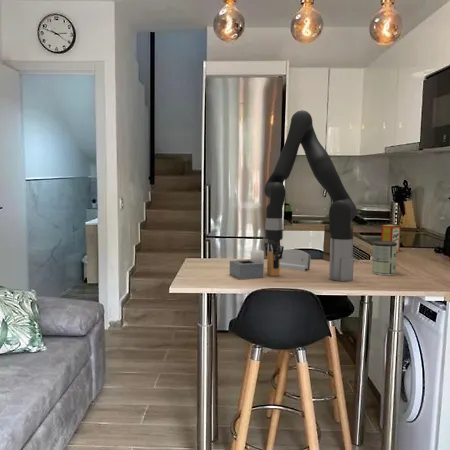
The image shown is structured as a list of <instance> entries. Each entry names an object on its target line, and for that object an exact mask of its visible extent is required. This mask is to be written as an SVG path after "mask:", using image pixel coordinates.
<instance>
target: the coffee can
mask: <svg viewBox="0 0 450 450" xmlns="http://www.w3.org/2000/svg"><path fill="white" fill-rule="evenodd" d="M396 248H397V243H396V242H391V241H381V240H375V241H372V259H371V260H372V261H371V262H372V264H371V265H372V267H371V268H372V269H371V273H372V274H373V273H374V274H373V275H377V274H378V275H379V276H395V275H397V274H396V273H397V271H396V270H397V252H396Z"/></svg>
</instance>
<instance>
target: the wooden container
mask: <svg viewBox="0 0 450 450" xmlns="http://www.w3.org/2000/svg"><path fill="white" fill-rule="evenodd" d="M323 229H324V230H323V231H324V232H323V244H322V245H323V246H322V247H323V249H322V259H323V260H324V261H327V262H330V240H331V234H330V231H329V223H328V224H324V228H323ZM351 230H352V232H353V233H354V225H352V224H351Z"/></svg>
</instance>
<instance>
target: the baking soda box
mask: <svg viewBox="0 0 450 450" xmlns="http://www.w3.org/2000/svg"><path fill="white" fill-rule="evenodd" d="M380 241H391V242H396V243H397V248H396V251H400V252H401V250H400V249H401V248H400V247H401V225H399V224H382V225H381V238H380Z"/></svg>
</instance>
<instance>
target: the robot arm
mask: <svg viewBox="0 0 450 450" xmlns="http://www.w3.org/2000/svg"><path fill="white" fill-rule="evenodd" d="M287 133H288V134H287V135H286V136H287V137H286V139H285V142H284V145H283V147H282V150H281V153H280V155H279V156H278V160H277V162H276V164H275V166H274V169H273V172H272V173H271V174H270V176H269V178H268V179H267V181H266V184H265V185H264V190H263V192H264V194H265V197H267V198H269V204H268V205H266V209H265V214H266V215H265V226H264V227H265V228H264V231H265V232H264V234H265V237H264V239H265V240H267V242H264V250H265V251H264V254H265V257H267V252H272V254H273V259H274V260H273V268H274V269H278V268H279V260H280V259H282V254H283V250H285V248H284V245H281V242H280V241H281V240H283V238H284V228H283V227H284V220H283V213H284V211H283V206H284V204H285V200H286V196H287V195H286V193H287V192H286V187H285V185H284V184H283V183H284V181H286V180H287V179H289V177H290V174H291V173H292V171H293V168H294V165H295V162H296V159H297V155H298V151H299V148H300V145H301V147H302V149H303V151H304V154H305V158H306V160H307V163H308V164H309V167H310V169H311V171H312V174H313V176H314V178H315V179H316V180H317V182H318V183H319V185H321V187H322V188H323V189H324V190H325V191H326V193H327V194H328V195H329V198H330V199H331V201H332V204H331V205H330V207H329V212H328V224H329V231H330V234H331V240H330V261H329V279H330V280H332V281H339V282H348V281H349V282H350V281H354V265H355V264H354V261H355V259H354V256H353V255H354V253H353V250H354V231H353V232H352V230H351V225H352V223H351V221H353V220H354V219H355V217H356V215H357V207H356V204H355V202H354V201H353V200H352V198H351V196H350V194H349V193H348V192H347V189H346V188H345V187H344V185H343V182H342V180H341V178H340V176H339V174H338V171H337V169H336V166H335V165H334V162H333V160H332V158H331V156H330V155H329V152H327V151H326V149H325V148H324V146H323V145H322V144H321V142H320V141H319V139H318V136H317V134H316V132H315V129H314V124H313V117H312V115H311V113H310V112H308V111H307V110H304V109H302V110H301V109H300V110H298V111H296V112H294V113H293V115H292V116H291V119H290V124H289V129H288V131H287ZM274 252H276V253H274ZM279 254H280V256H279ZM275 255H276V257H275Z"/></svg>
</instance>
